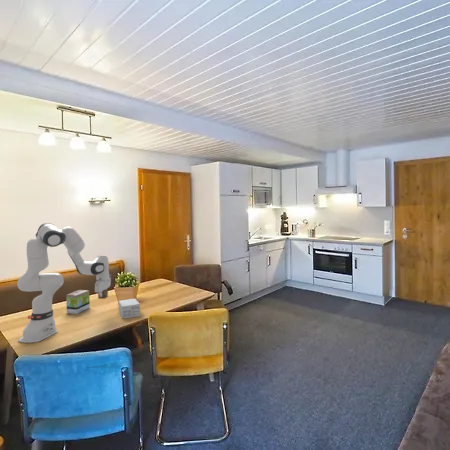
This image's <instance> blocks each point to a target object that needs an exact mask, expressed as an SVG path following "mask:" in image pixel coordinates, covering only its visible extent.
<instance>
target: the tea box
mask: <svg viewBox="0 0 450 450" xmlns="http://www.w3.org/2000/svg"><path fill="white" fill-rule="evenodd" d="M65 298H66V314H76V315H77V314H80V313H81V312H84V311H86V310H89V309H90V301H91V300H90V298H91V297H90V290H84V289H78V290H74V291H73V292H70V293H68V294H66V297H65Z"/></svg>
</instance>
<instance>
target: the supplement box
mask: <svg viewBox="0 0 450 450" xmlns="http://www.w3.org/2000/svg"><path fill="white" fill-rule="evenodd" d="M118 312H119V315H120V317H121V319H122V320H123V319H130V318H135V317H136V318H137V317H141V304H140V302H139V301H138V299H136V298H129V299H122V300H118Z"/></svg>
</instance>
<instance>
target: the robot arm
mask: <svg viewBox="0 0 450 450" xmlns="http://www.w3.org/2000/svg"><path fill="white" fill-rule="evenodd" d="M62 244H63V246H64V247H65V249H66V250H67V254H68V256H69V257H70V259H71V261H72V263H73V265H74V266H75V269H76V272H77V273H78V274H79V275H80V276H81V275H82V276H83V275H84V276H86V275H87V276H95V278H96V282H95V283H94V292H95V293H97V294H98V292H99V294H100V297H102V296H103V294H102V291H103V290H108V288H110V287H111V284H112V283H111V282H112V274H110V271H109V267H110V265H109V257H108V256H106V255H97V256H96V258H95V259H94V260H92V261H88V260H84V259H83V257H82V256H81V252H82V251H83V250H84V248H85V241H84V240H83V238H82V237H81V235H80V234H79V233H78V232H77V231H76V230H75V229H74V228H72V227H71V226H66V227H62V228H61V229H60V228H59V229H58V228H57V226H55V224H53V223H49V222H43V224H40V226H39V227H38V229H37V232H36V233H35V238H34V237H33V238H31V239H30V240H27V243H26V258H27V269H26V272H25V273H24V274H22V276H20V277H19V278H18V280H17V283H16V284H17V288H18V289H19V290H20V291H22V292H41V291H42V292H41V294H39V295H37V296H35V297H34V298H33V299H32V302H31V309H32V312H31V314H30V315H27V319H28V320H29V322H28V323H27V325H26V326H25V327H24V329H23V331H22V336H21V337H20V338H19V339H18V343H24V344H26V343H38V342H41V341H44V340H45V339H47V338H49V337H51V336H53V335H55V334H56V333H59V332H58V330H57V326H56V321H55V318H54V308H53V297H54V295H55V293H56V292H57V291H58V290H59V289H60V288H61V287H62V286H63V285H64V276H63V274H61V273H60V272H47V273H46V272H44V273H43V272H42V271H45V270H46V269H47V268H48V267H49V265H50V263H49V257H48V256H49V254H48V247H50V248H54V247H58V246H60V245H62ZM40 272H42V273H40Z"/></svg>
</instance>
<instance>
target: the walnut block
mask: <svg viewBox="0 0 450 450" xmlns="http://www.w3.org/2000/svg"><path fill="white" fill-rule="evenodd" d="M102 294H103V296H102V297H100V294H99V292H98V293H97V295H98V297H97V298H98V300H99V299H102V300H105V299H107V298H108V297H109V290H108V289H107V290H103V291H102Z"/></svg>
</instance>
